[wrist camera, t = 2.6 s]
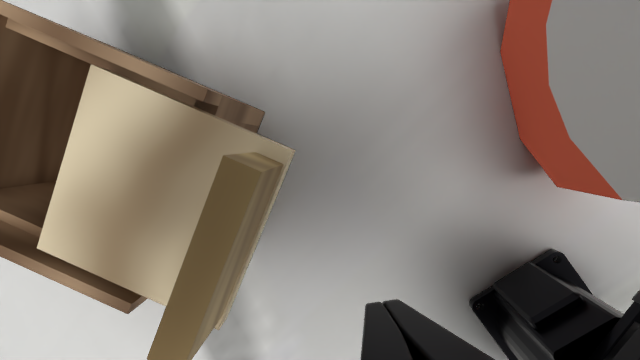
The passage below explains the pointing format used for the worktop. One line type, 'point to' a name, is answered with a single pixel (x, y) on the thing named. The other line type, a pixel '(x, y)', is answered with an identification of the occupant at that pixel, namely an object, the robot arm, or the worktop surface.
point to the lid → (162, 203)
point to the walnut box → (66, 132)
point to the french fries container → (578, 90)
